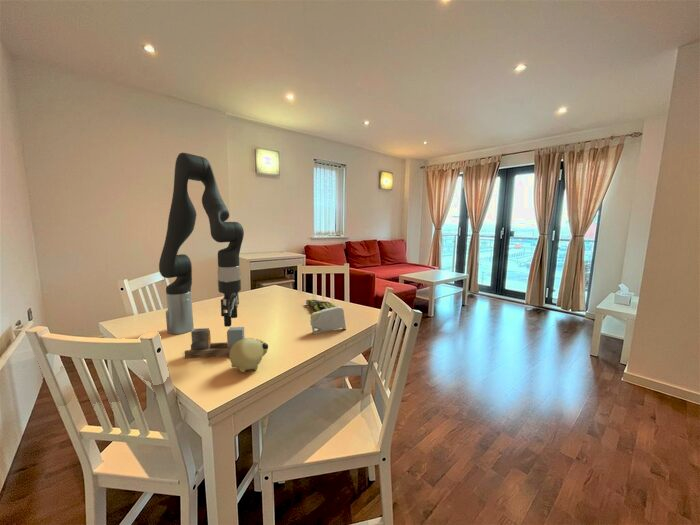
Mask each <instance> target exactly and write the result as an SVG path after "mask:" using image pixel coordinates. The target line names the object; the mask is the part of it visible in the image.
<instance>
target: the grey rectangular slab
mask: <svg viewBox="0 0 700 525" xmlns="http://www.w3.org/2000/svg"><path fill="white" fill-rule="evenodd" d="M335 306H336V305H335ZM320 310H321V311H314V312H312V313H311V314H310V326H311V329H312V330H311V331H312V333H313V334H315V335H317V334H320V333H323V332H324V333H325V332H331V331H334V330H338V329H342V328H343V330H344V329H346V330H347V326H346V318H345V311H344V309H343V308H342V306H339V305H337V306H336V307H332V308H327V309H325V308H323V309H320ZM315 329H316V330H315Z"/></svg>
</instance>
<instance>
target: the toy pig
mask: <svg viewBox="0 0 700 525" xmlns="http://www.w3.org/2000/svg"><path fill="white" fill-rule="evenodd" d="M268 349H269V344H268V343H266V342H265V341H264V340H262V339H258V338H256V339H255V338H254V337H247V338H245V337H244V339H242V340H240V341H238V342H236V343H235V344H234V345H233V346H232V347H231V349H230V353H229V361H230V363H231V364H230V366H231V367H232V368H235V369H238V370H239V371H240V372H241V373H245V372H246V371H248V370H254V371H257V370H258V368H259V364H260V363H261V361H262V360H263V359H262V358H263V357H264V356H265V355H266V354H267V353H268Z"/></svg>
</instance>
